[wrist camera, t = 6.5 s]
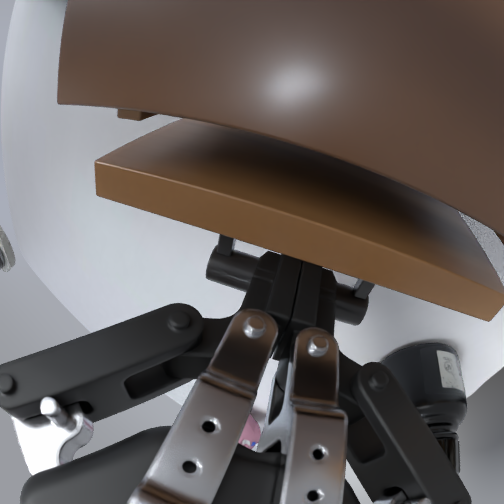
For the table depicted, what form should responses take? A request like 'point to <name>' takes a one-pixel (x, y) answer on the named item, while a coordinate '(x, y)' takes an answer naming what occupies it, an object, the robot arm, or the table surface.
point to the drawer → (302, 215)
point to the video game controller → (250, 433)
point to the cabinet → (314, 80)
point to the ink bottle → (434, 390)
